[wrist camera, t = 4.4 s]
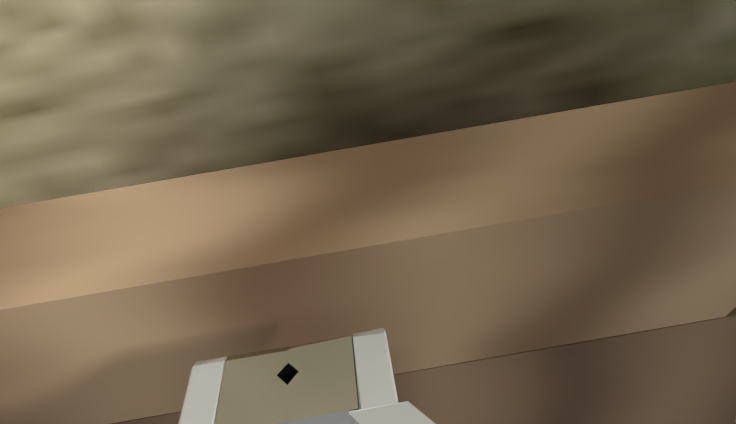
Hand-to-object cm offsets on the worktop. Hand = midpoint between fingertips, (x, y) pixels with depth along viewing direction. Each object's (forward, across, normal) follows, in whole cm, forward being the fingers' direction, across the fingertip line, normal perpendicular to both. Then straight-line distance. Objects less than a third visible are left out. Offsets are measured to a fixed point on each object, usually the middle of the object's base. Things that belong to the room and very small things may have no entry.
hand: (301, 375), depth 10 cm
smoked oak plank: (+4, 0, 0) cm, 4 cm away
